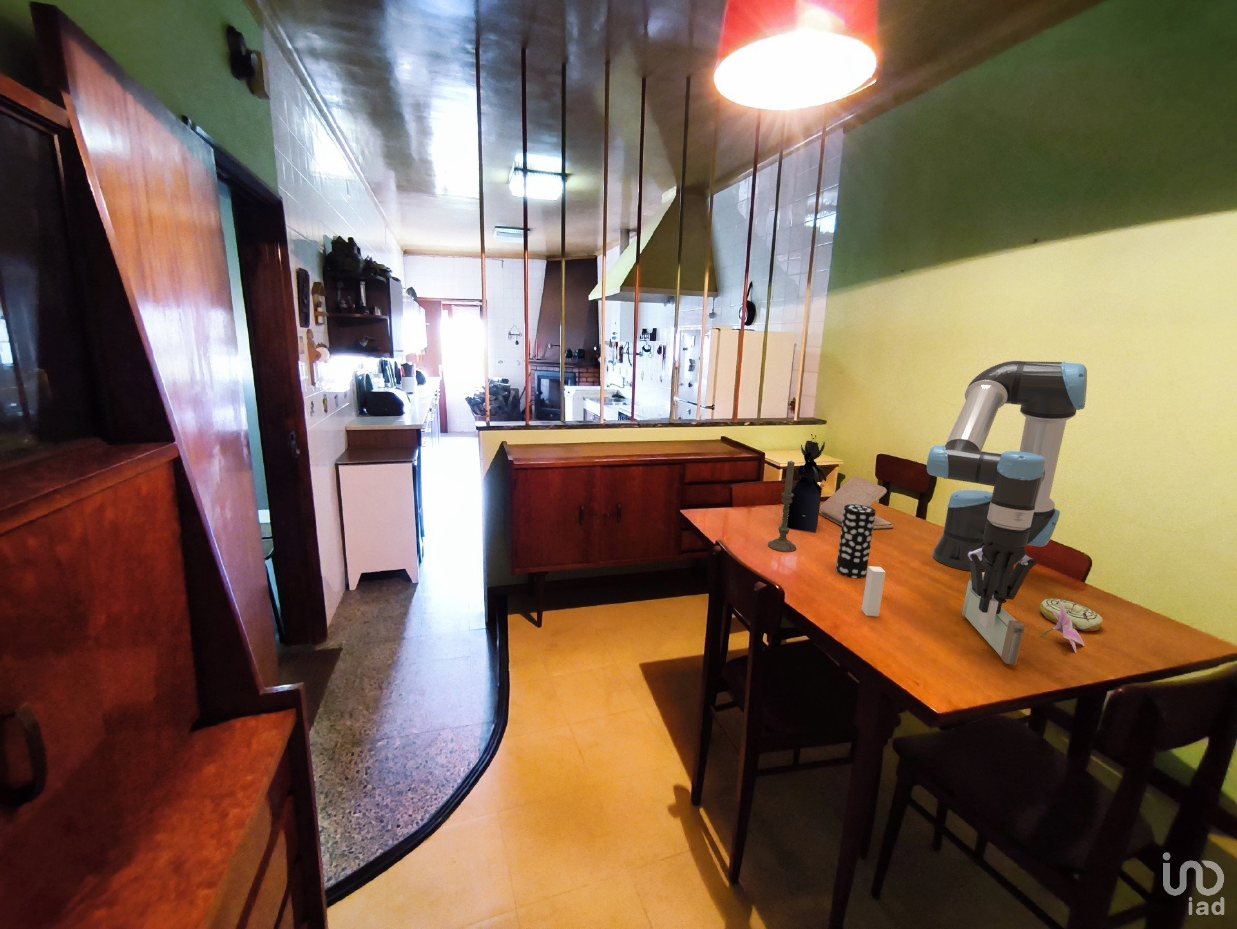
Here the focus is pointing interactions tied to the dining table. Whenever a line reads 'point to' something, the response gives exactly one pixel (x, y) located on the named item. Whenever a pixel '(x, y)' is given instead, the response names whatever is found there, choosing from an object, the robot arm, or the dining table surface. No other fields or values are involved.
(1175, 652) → the dining table surface
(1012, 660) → the gate
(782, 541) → the candlestick holder
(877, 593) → the gate posts
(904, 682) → the dining table surface
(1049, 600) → the decorated donut
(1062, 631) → the lily
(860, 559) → the spotted tube
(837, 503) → the case
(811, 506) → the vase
